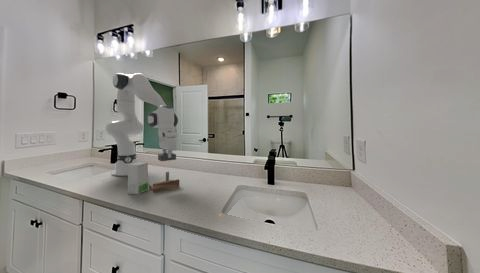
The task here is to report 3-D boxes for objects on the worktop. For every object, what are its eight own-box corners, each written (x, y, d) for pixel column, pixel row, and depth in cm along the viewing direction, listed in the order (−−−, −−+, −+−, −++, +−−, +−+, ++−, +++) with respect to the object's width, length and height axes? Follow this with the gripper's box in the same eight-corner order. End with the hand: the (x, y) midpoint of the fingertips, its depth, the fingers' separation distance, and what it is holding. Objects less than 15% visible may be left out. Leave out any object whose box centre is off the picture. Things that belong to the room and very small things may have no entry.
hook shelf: (148, 186, 105) (148, 172, 105) (172, 181, 114) (172, 168, 114) (153, 192, 96) (153, 177, 95) (179, 187, 105) (179, 172, 104)
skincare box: (137, 194, 93) (137, 165, 92) (127, 193, 94) (126, 164, 93) (149, 189, 101) (148, 162, 100) (139, 188, 102) (138, 161, 101)
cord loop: (158, 159, 105) (158, 154, 105) (172, 158, 110) (172, 153, 110) (161, 161, 100) (161, 155, 100) (176, 159, 105) (176, 154, 105)
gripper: (156, 133, 110) (156, 155, 111) (166, 134, 94) (166, 159, 95) (166, 132, 114) (167, 154, 115) (178, 133, 98) (178, 158, 99)
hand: (167, 156), depth 105 cm, fingers closed on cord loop, 6 cm apart
